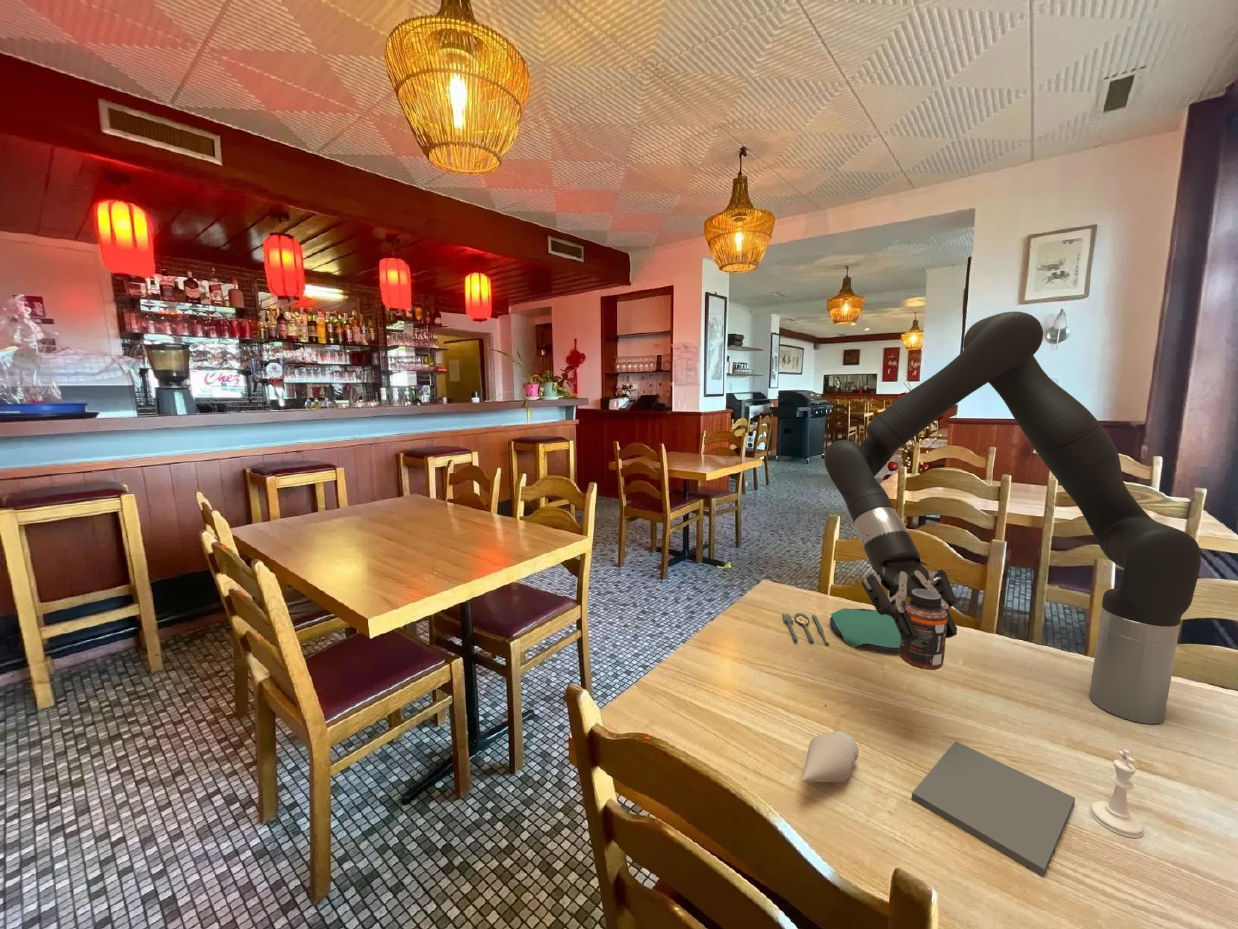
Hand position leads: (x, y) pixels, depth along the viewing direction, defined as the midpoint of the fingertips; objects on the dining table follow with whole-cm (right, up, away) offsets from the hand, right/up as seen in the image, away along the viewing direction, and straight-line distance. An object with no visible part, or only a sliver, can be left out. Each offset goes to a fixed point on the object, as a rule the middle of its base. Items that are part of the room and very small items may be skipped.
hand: (931, 637), depth 75 cm
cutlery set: (+6, -13, +39) cm, 42 cm away
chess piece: (+16, -20, -12) cm, 28 cm away
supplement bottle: (0, -5, +3) cm, 5 cm away
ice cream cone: (-18, -19, -4) cm, 27 cm away
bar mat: (+3, -19, -8) cm, 21 cm away
